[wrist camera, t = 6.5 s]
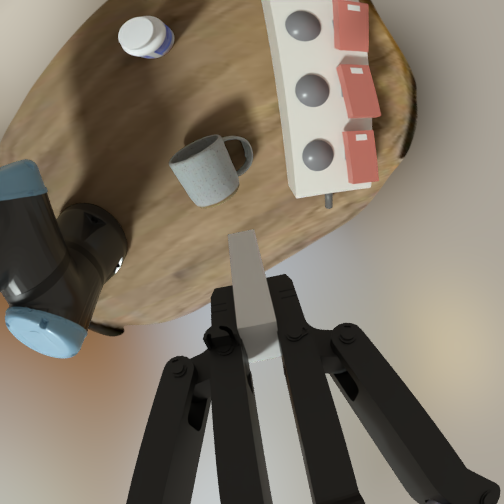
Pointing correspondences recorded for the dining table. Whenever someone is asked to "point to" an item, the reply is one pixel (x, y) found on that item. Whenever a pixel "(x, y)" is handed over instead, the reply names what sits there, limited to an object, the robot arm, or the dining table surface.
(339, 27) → the block
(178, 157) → the ceramic mug
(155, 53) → the pill bottle
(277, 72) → the switch panel
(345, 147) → the block
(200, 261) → the dining table surface
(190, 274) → the dining table surface
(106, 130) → the dining table surface
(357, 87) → the block
